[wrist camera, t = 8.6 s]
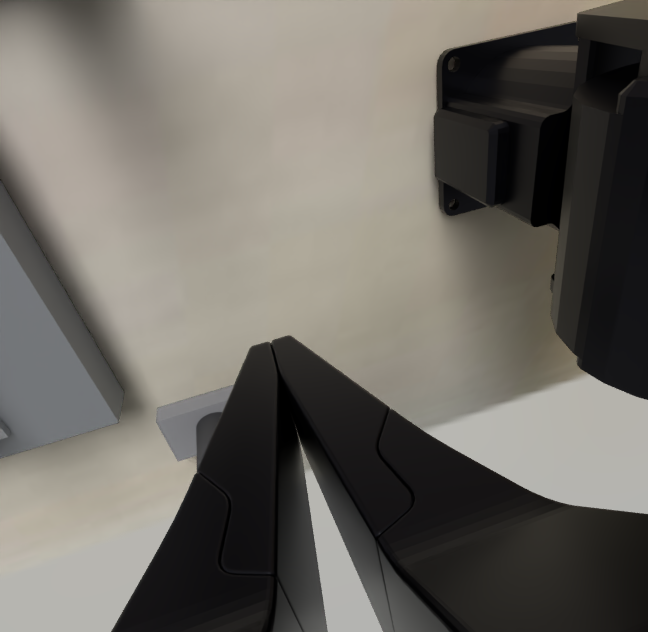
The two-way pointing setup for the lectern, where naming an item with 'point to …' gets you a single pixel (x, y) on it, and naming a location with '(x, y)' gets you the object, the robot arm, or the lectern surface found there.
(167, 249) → the lectern surface
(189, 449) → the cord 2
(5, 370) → the breaker panel
